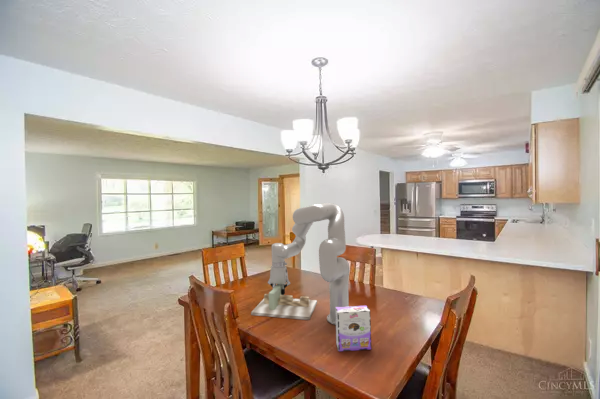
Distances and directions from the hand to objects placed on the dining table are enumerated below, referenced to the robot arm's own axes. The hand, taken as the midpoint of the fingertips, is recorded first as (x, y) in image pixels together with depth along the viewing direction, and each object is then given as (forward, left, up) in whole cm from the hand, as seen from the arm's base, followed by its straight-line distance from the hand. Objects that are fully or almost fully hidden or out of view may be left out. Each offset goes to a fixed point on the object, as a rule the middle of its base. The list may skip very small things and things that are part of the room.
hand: (279, 294), depth 163 cm
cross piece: (0, +5, -3) cm, 6 cm away
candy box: (-45, +38, -5) cm, 59 cm away
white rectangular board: (-6, +7, -5) cm, 11 cm away
